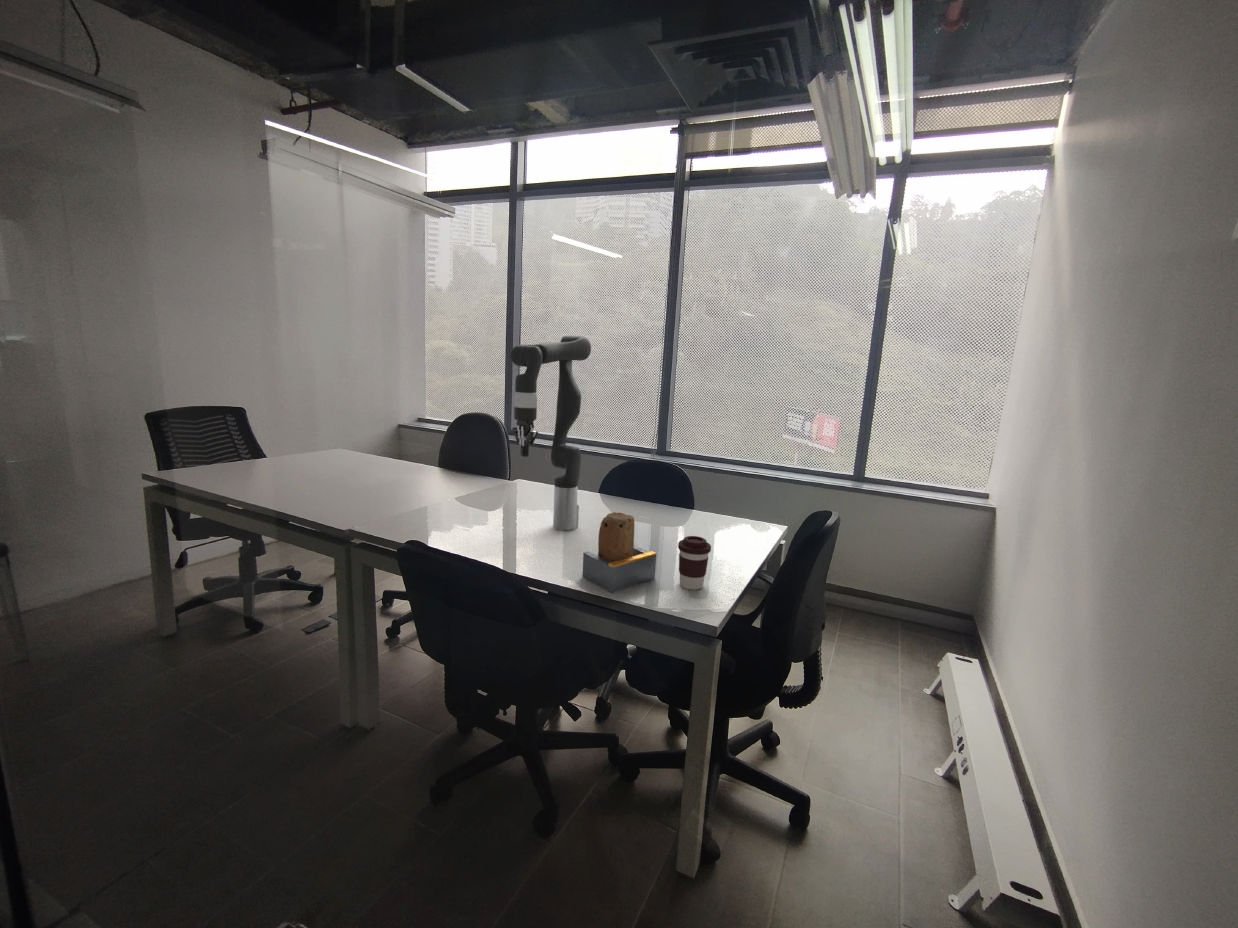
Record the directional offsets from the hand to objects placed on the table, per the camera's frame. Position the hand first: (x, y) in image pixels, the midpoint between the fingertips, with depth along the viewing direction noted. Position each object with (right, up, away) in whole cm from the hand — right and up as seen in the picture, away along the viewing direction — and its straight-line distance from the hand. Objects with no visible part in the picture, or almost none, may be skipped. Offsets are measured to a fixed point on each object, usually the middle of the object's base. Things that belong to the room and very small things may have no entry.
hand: (524, 456), depth 182 cm
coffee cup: (+55, -40, -18) cm, 70 cm away
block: (+31, -38, -14) cm, 51 cm away
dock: (+32, -38, -15) cm, 52 cm away
